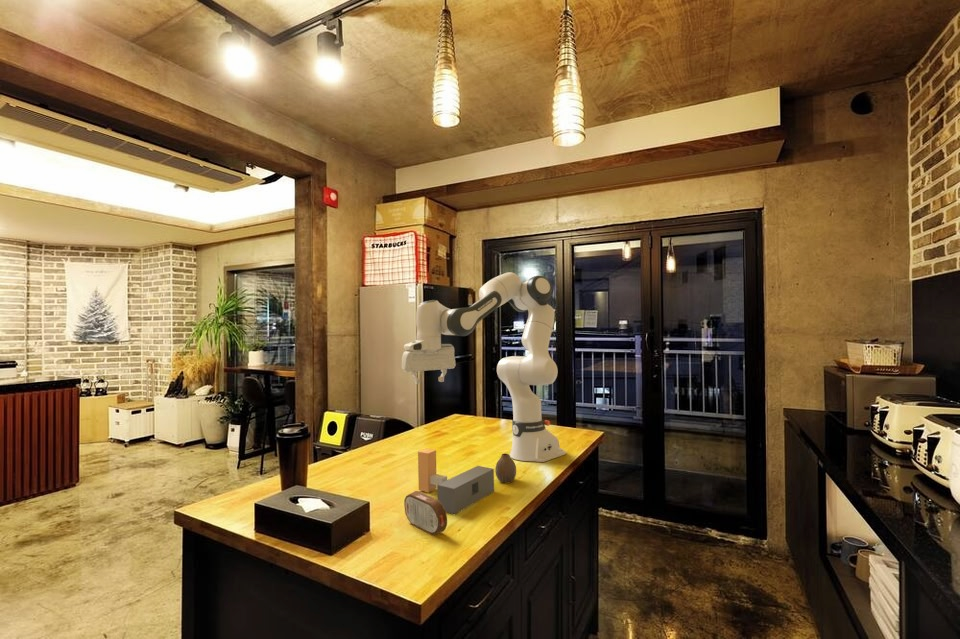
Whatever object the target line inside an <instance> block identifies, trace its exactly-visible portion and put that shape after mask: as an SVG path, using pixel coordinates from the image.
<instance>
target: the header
mask: <svg viewBox="0 0 960 639" xmlns="http://www.w3.org/2000/svg"><path fill="white" fill-rule="evenodd" d="M494 492H495V468H492V467H487V466H481V465H476V466H474V467H472V468H470V469H468V470H466V471H464V472H462V473H459V474H457V475H455V476H453V477H451V478H449V479H448V478H447V480H446V481H444V482H442V483H440V484H438V485H437V489H436V493H437V494H436V495H437V496H436V499H437V500H438V501H440V503H441V504H442V505H443V507H444V509H445V512H446V514H447V513H448V514H450V515H454V514H455V515H457V514H458V513H460V512H461V510H462V511H463V510H465V509H467V508H468V507H470V506H472V505H473V504H475V503H477V502H479V501H481V500H482V499H484V498H485V497H487V496H489V495H491V494H492V493H494ZM459 511H460V512H459ZM457 512H458V513H457Z"/></svg>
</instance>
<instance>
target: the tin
mask: <svg viewBox="0 0 960 639" xmlns="http://www.w3.org/2000/svg"><path fill="white" fill-rule="evenodd" d="M403 504H404V514H405V517H406V519H407V520H408V521H409V522H410V524H411V525H412V526H415V527H416V528H418V529H420V530H421V531H424V532H425V533H427V534H430V535H432V536H434V535H439V533H442V532H444V531H445V530H446V529H447V526H448V516H447V512H445V509H444V507H443V505H442V504H441V503H440V501H438V500H437V498H435V497H433V496H431V495H429V494H425V492H423V491H420V490H414V491H413V492H411V493H409V494H407V495H405V497H404V503H403Z"/></svg>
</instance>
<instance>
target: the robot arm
mask: <svg viewBox="0 0 960 639" xmlns="http://www.w3.org/2000/svg"><path fill="white" fill-rule="evenodd" d="M550 282H551V281H550V280H549V279H548V278H547V277H546V276H544V275H535V276H532V277H531V278H529V279H527V280H526V281H522V280H521V278H520V277H519V275H518V274H516V273H514V272H511V271H510V272H509V271H508V272H505V273H503V274H502V273H501V274H499V275H498V276H495V277H493V278H491V279H490V280H488V281H487V282H486V283H484V284H483V285H482V286H481V287H480V288H479V290H478V298H479V299H478V301H476V302H474V303H473V304H472V305H470V306H467V307H459V308H452V309H451V308H449V307H446V306H445V305H443V304H442V303H440V302H439V301H438V300H436V299H432V300H426V301H425V300H424V301H422V302H420V303H419V304H418V305H417V308H416V315H415V316H416V317H415V320H416V321H415V323H416V324H415V326H416V329H417V332H416V340H413V341H411V342H408V343H405V344H404V345H403V350H404V352H403V353H402V356H401V369H402V371H403V372H405V373H411V375H412V377H413V380H414V384H415V385H420V384H421V378H418V372H425V371H437V370H440V372H441V374H440V376H438V382H440V383H443V382H445V376H446V375H447V372H448V370H451V369H455V367H456V365H457V364H456V357H455V347H454V345H453V344H451V343H442V335H445V336H459V337H466V336H469V335H470V334H471V333H472V332H474V330H475V329H476V327H477V325H478V324H479V323H480V322H481V321H482V320H483V319H484V318H486V317H487V316H488V315H489V314H491V313H493V311H495V310H496V309H497V308H499V307H501V306H502V305H503V306H504V304H506V303H507V302H508V303H509V304H510V306H511V307H512V309H514V310H515V311H516V312H518V313H524V312H528V316H527V320H526V323H525V327H524V329H523V333H522V336H521V344H522V346H523V348H524V349H526V350H527V351H528V353H527V355H526V356H523V355H522V356H520V355H512V356H506V357H503V358H501V359H500V360H499V361H498V363H497V365H496V373H497V377H498V379H499V380H500V381H502V383H503V384H504V385H505V386H506V388H507V390H508V392H509V394H510V398H511V402H512V415H513V416H512V417H513V419H512V422H511V424H512V425H511V426H512V427H511V428H512V429H511V430H512V444H511V450H510V452H509V455H510V457H511V459H512V460H513V459H514V460H516V461H523V462H538V463H544V462H547V461H550V460H553V459H555V458H560V457H562V456H565V455H567V452H566V450H565V449H563V448H562V447H561V448H560V441H559V439H558V437H557V436H555V435H554V433H552V432H550V431H549V430H548V429H546V426H548V427H549V426H550V420H547V419H545V420H544V419H542V402H541V401H542V400H541V398H540V397H539V395H537V394H535V393H534V392H533V391H532V389H531V387H530V386H547V385H552V384H553V383H554V382H555V381H556V379H557V377H558V373H559V372H558V370H559V369H558V365H557V364H556V362H555V361H554V360H553V359H552V358H551V355H550V353H549V346H550V341H551V337H552V333H553V329H554V325H555V310H554V308H553V306H551V305H550V302H551V300H552V285H551V283H550Z"/></svg>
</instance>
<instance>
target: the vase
mask: <svg viewBox="0 0 960 639" xmlns="http://www.w3.org/2000/svg"><path fill="white" fill-rule="evenodd" d="M494 473H495V476H496V478H497V480H498V481H499V482H500V483H503V484H510V483H512V482H513V481H514V480H515V478H516V475H517V466H516V462H514V460H513V458H511V457H510V453H502V454H501V456H500V457H499V459H498V461H497V462H496V464H495V467H494Z"/></svg>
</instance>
